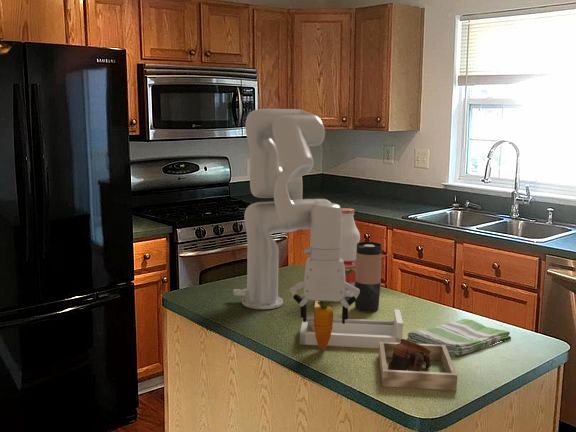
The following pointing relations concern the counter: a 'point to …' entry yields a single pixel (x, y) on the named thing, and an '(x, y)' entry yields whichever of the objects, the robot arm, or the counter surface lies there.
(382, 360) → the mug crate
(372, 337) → the frame
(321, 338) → the carrot
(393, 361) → the pottery mug
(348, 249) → the fruit juice
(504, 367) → the counter surface
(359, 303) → the travel mug
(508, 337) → the dish towel
